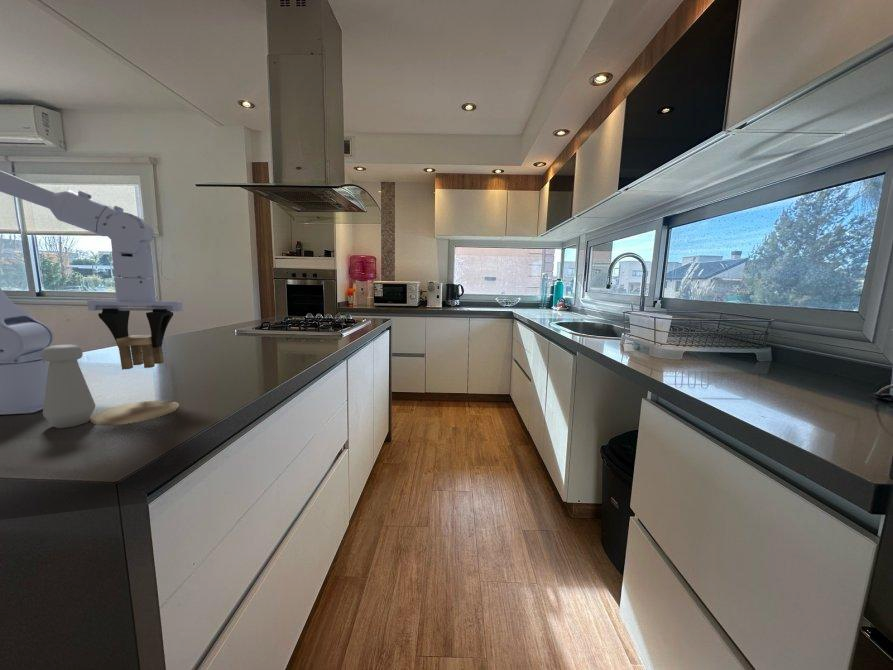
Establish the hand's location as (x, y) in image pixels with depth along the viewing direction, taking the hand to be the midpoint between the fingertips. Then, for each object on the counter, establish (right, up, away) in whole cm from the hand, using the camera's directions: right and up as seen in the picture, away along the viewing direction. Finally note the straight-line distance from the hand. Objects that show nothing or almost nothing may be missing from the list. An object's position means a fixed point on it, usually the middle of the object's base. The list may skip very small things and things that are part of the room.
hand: (140, 347), depth 69 cm
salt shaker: (-1, -12, -12) cm, 17 cm away
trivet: (+5, -12, -6) cm, 14 cm away
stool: (0, -4, +1) cm, 4 cm away
